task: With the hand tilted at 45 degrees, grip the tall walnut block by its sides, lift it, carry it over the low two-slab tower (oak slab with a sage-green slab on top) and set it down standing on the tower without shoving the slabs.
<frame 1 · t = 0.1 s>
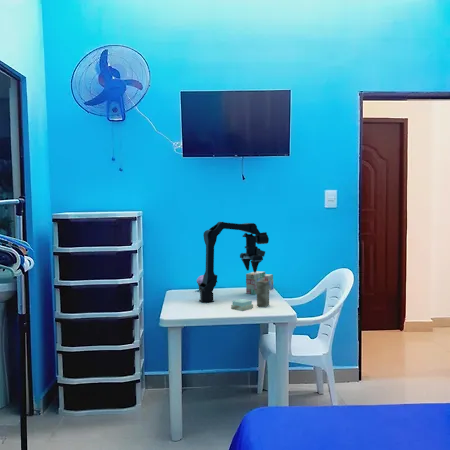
hand: (251, 271, 267), 15 cm above the table, tool pointing down, fingers open, 9 cm apart
green slab: (242, 304, 238), point 2 cm above the table, touching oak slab
stack of blocks: (260, 291, 284), on the table
cupcake: (204, 291, 288), on the table
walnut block: (263, 305, 243), on the table
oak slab: (242, 309, 238), on the table, touching green slab
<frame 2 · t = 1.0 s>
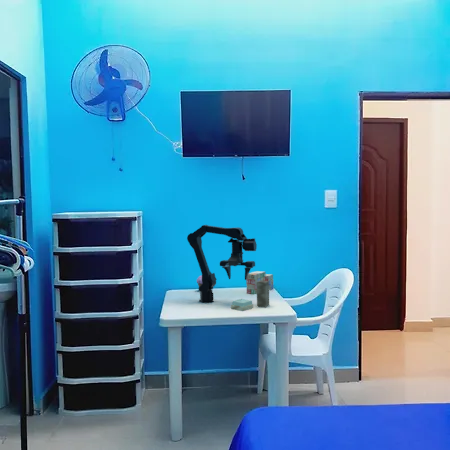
hand: (237, 279, 250), 13 cm above the table, tool pointing down, fingers open, 9 cm apart
nothing on the table moved.
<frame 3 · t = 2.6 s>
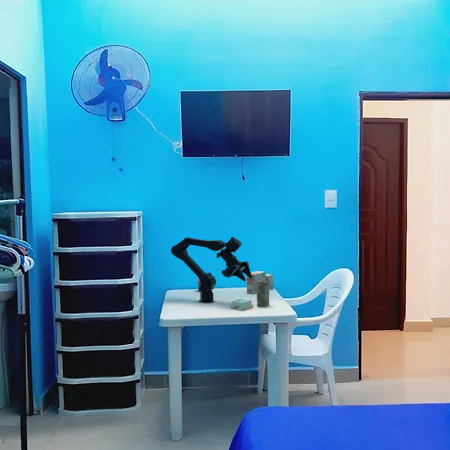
hand: (248, 279, 246), 14 cm above the table, tool tilted 45°, fingers open, 9 cm apart
green slab: (241, 304, 238), point 2 cm above the table
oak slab: (242, 309, 238), on the table
everything else where it was.
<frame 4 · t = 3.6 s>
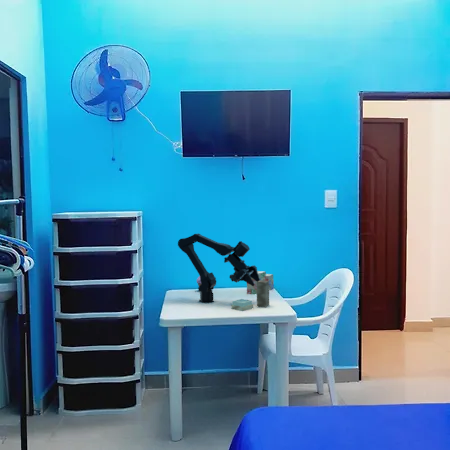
hand: (257, 284, 244), 11 cm above the table, tool tilted 45°, fingers open, 9 cm apart
green slab: (242, 304, 238), point 2 cm above the table, touching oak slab
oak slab: (242, 309, 238), on the table, touching green slab
everything else where it was.
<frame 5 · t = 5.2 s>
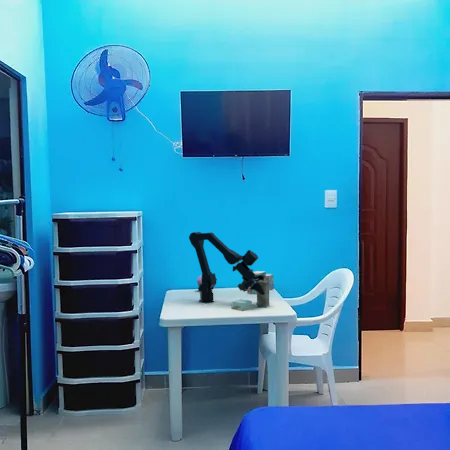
hand: (265, 293, 242), 7 cm above the table, tool tilted 45°, fingers closed on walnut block, 5 cm apart
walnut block: (263, 305, 243), on the table, touching gripper
everything else where it was.
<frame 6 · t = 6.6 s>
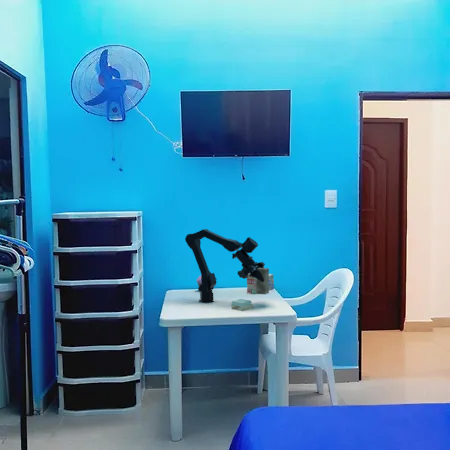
hand: (265, 280, 242), 13 cm above the table, tool tilted 45°, fingers closed on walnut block, 5 cm apart
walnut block: (262, 293, 242), point 7 cm above the table, touching gripper
everything else where it was.
when the fingers open (12 cm above the table, at t = 8.3 s): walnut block drops 1 cm, resting on green slab.
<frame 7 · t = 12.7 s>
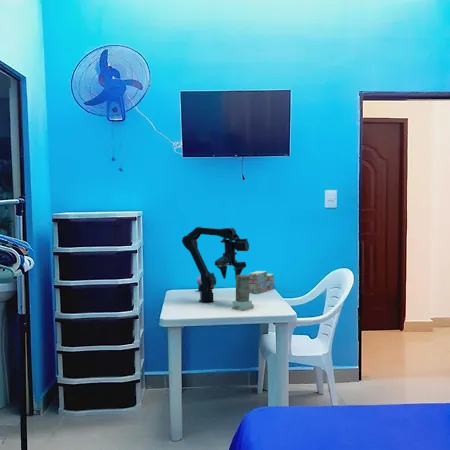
hand: (230, 279, 250), 13 cm above the table, tool pointing down, fingers open, 9 cm apart
green slab: (242, 304, 238), point 2 cm above the table, touching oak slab, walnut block
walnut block: (242, 300, 238), point 4 cm above the table, touching green slab
at the end: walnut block 0.3 cm off-centre on the green slab, point 2.1 cm above the green slab's base; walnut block tilted 3°; green slab moved 0.7 cm from its start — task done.
